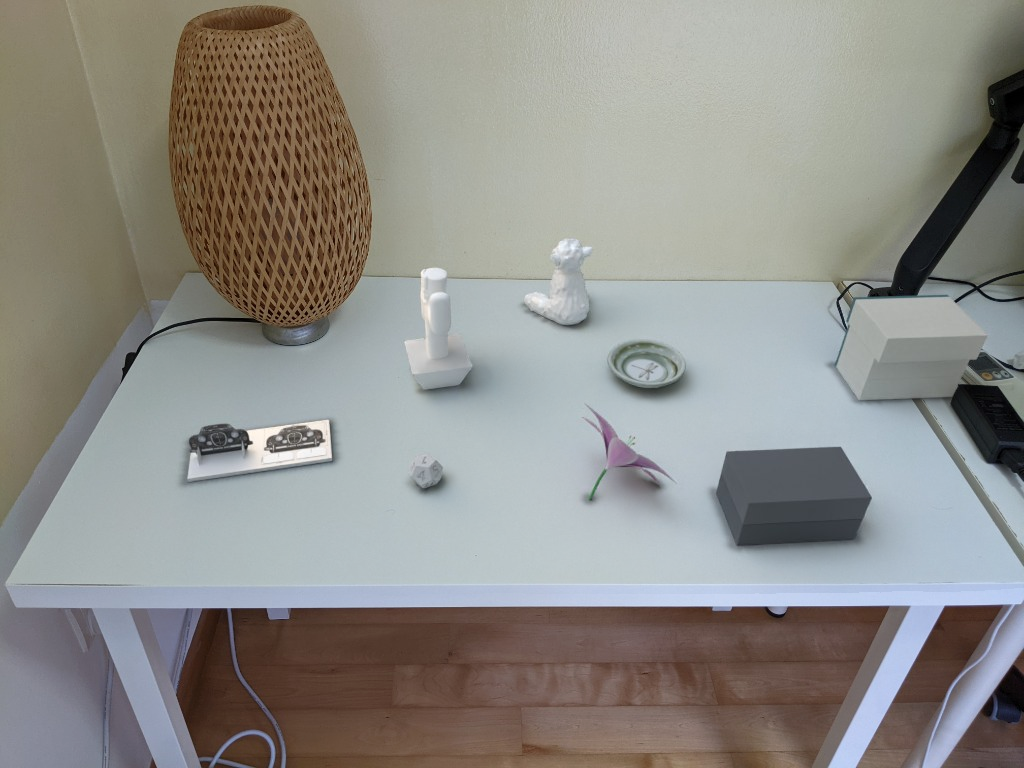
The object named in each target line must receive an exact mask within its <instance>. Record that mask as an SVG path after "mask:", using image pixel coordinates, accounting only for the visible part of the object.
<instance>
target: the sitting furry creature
mask: <svg viewBox="0 0 1024 768" xmlns="http://www.w3.org/2000/svg"><path fill="white" fill-rule="evenodd" d="M593 251H594V248H593V246H587V245H586V246H583V245H582V241H580V240H579V239H577V238H574V237H568V238H564V239H562V240H559V242H558V244H557V245H556V246H555V247H554V248H552V252H551V254H550V255H549V256H550V258H549V260H550V262H551V263H552V264H553V266H554V267H555V269H554V270H553V272H554V273H553V274H552V275H551V280H550V282H549V284H550V291H549V296H547V295H546V294H545V293H544V292H538V291H534V292H529V293H527V294H526V295H524V304H525V306H526V307H527V308H528V309H529V310H530V312H534V313H536V314H537V315H540V316H542V317H543V318H546V319H548V320H550V321H553V322H555V323H556V324H558V325H561V326H572V325H577V324H580V323H581V322H582V321H584V320H586V318H587V317H588V313H589V312H590V299H589V294H588V291H587V290H588V289H586V287H587V286H586V279H585V278H584V273H583V272H582V270H581V267H582V266H583V265H584V262H585V258H589V257H591V256H592V254H593Z"/></svg>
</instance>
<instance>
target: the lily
mask: <svg viewBox="0 0 1024 768" xmlns="http://www.w3.org/2000/svg"><path fill="white" fill-rule="evenodd" d="M583 404H584V405H585V407H587V408H588V409H589V410H590V411H591V412H592V413H593V414H594V416H595V418H596V419H597V421H598V424H599V426H600V427H599V426H598V425H597V424H595V423H594V422H593V421H592V420H590V419H588V418H587V417H585V416H582V417H581V418H582V419H583V420H585V421H586V422H587V423H588V424H590V425H591V426H592V427H593V428H594V429H595V430H596V431H597V432H598V433H600V435H601V437H602V439H603V444H604V447H605V455H606V465H605V468H604V469H603V470H602V472H601V474H600V475H599V477H598V479H597V480H596V482H595V485H594V486H593V489H592V490H591V493H590V495H589V497H588V499H589V500H591V501H592V499H593V497H594V496H595V493H596V492H597V491H596V490H597V489H598V487H599V484H600V482H601V480H602V479H603V477H604V475H605V474H606V473H607V472H608V470H610V469H612V468H636V469H639V470H642V471H643V472H645V473H646V474H647V475H648V476H649V477H650V478H652V479H653V481H654V482H656V484H658V485H659V486H661V483H660V481H659V480H658V479H657V477H656V476H655V475H654V474H653V472H652V471H649V470H653V471H656V472H659V473H661V474H663V475H664V476H665V477H667V478H668V479H669V480H671V481H672V482H674V483H675V484H676V485H677V484H678V483H677V481H675V480H674V479H673V478H672V477H671V476H670V475H669V473H667V472H666V471H665V470H664V469H663V468H661V467H660V466H659V465H658V464H657V463H655V462H654V461H653V460H651V459H650V458H648V457H646V456H644V455H642V454H639V453H637V452H636V451H635V450H634V449H633V448H631V446H635V444H636V442H633V441H634V440H635V439H636V436H633V437H632V435H630V436H629V437H628V440H627V441H626V442H625V441H624V440H622V439H621V438H620V437H619V435H618V434H617V432H616V430H615V428H613V426H612V425H611V424H610V423H609V422H608V421H607V420H606V419H605V418H604V417H603V416H602V415H600V413H598V412H597V411H596V410H594V408H592V407H590V406H589V405H587V404H586V403H585V402H583ZM631 437H632V438H631ZM647 469H649V470H647Z"/></svg>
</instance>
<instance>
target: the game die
mask: <svg viewBox="0 0 1024 768" xmlns="http://www.w3.org/2000/svg"><path fill="white" fill-rule="evenodd" d="M443 470H444V466H443V465H442V464H441V463H440V462H439V461H438V460H437V459H436V458H434V457H433V455H431V454H429V453H424V454H420V455H417V456H415V457H414V458H413V459H412V460H411V462H410V465H409V468H408V473H407V475H408V476H409V478H411V479H412V480H413V482H415V483H416V484H417V485H418V486H419V487H420V488H422V489H427V488H429V487H433V486H436V485H437V484H438V483H439V482H440V481H441V480H442V474H443Z"/></svg>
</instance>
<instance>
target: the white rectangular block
mask: <svg viewBox="0 0 1024 768" xmlns="http://www.w3.org/2000/svg"><path fill="white" fill-rule="evenodd" d="M969 363H970V360H949V361H921V362H893V363H878V362H877V360H876V359H875V358H874V356H873V355H872V354H871V353H870V351H869V350H868V349H867V347H866V346H865V345H864V343H863V342H862V341H861V340H860V338H859V337H858V336H857V334H856V333H855V332H854V330H853V329H852V328H851V327H850V325H849V324H848V323H847V327H846V331H845V334H844V336H843V340H842V342H841V346H840V348H839V352H838V354H837V357H836V361H835V363H834V367H835V369H836V370H837V371H838V372H839V374H840V375H841V377H842V378H843V379H844V381H845V383H846V384H847V385H848V387H849V388H850V390H851V391H852V392H853V394H854V396H855V397H856V398H857V400H858V401H878V400H879V401H881V400H904V399H905V400H907V399H930V398H931V399H932V398H953V396H954V395H955V392H956V390H957V388H958V385H959V384H960V382H961V380H962V377H963V376H964V373H965V371H966V369H967V366H968V364H969Z"/></svg>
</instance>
